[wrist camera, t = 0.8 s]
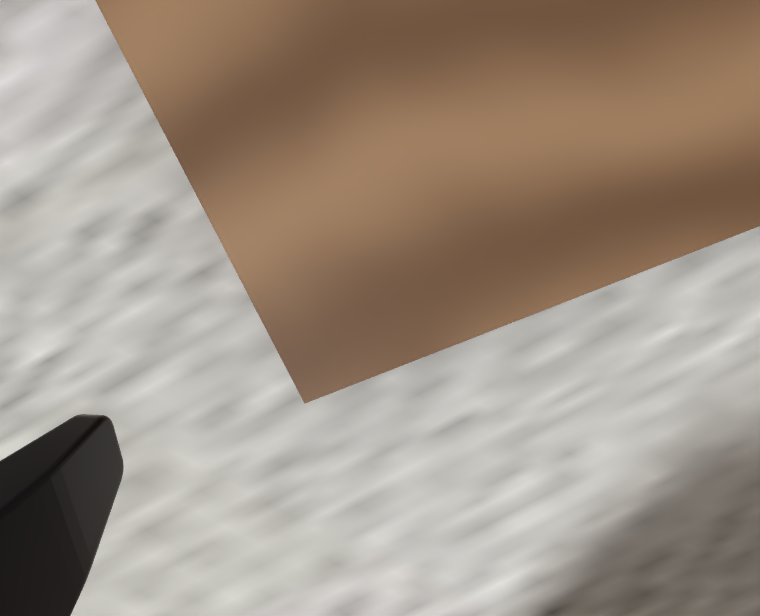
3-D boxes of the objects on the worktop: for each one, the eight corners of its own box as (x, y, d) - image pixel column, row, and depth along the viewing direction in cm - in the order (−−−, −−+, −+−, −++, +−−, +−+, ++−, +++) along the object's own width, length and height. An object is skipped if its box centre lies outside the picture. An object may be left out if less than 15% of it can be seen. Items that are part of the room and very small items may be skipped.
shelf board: (793, 190, 21) (825, 199, 19) (316, 378, 25) (304, 403, 23) (607, -408, 17) (624, -468, 16) (78, -87, 21) (41, -105, 19)
